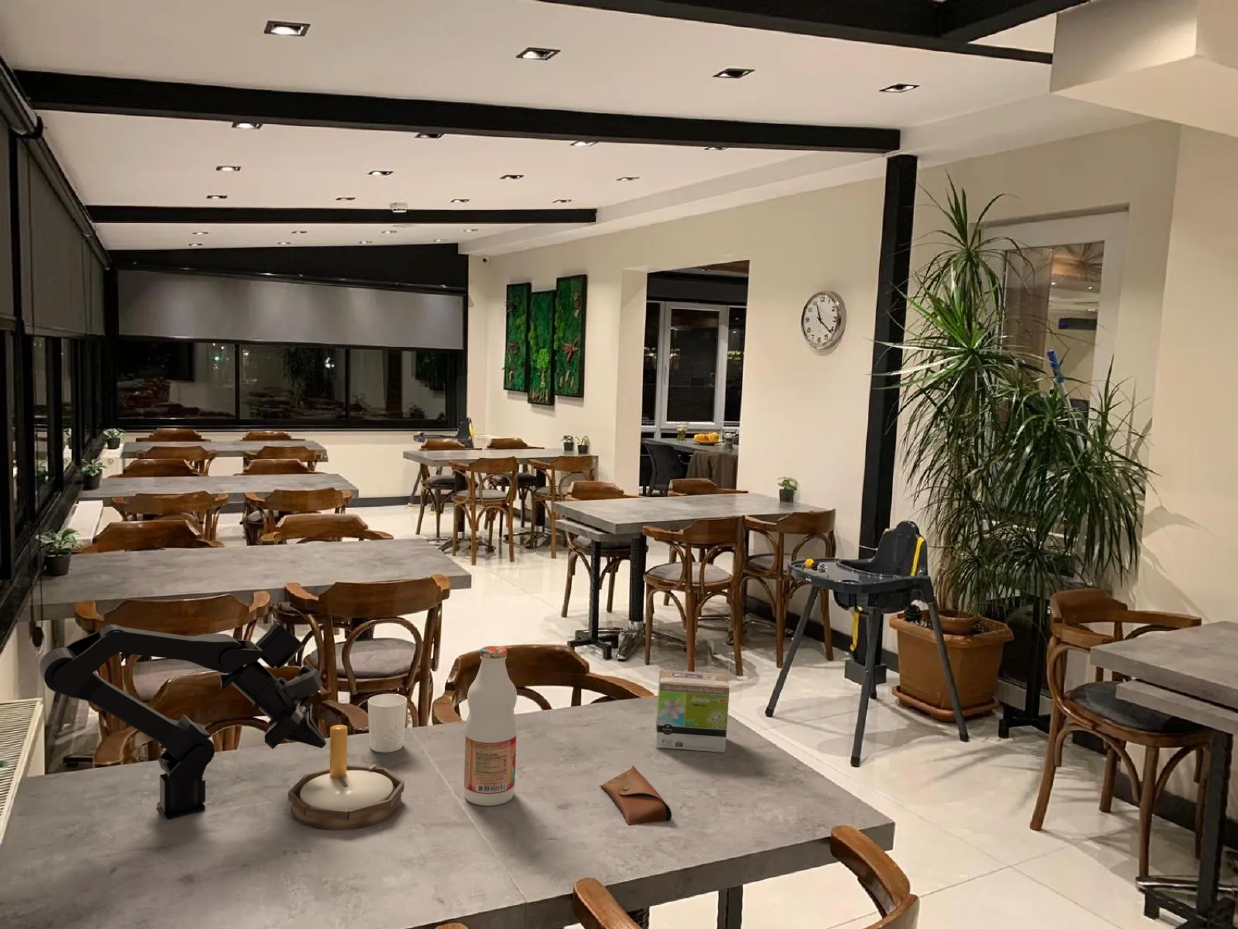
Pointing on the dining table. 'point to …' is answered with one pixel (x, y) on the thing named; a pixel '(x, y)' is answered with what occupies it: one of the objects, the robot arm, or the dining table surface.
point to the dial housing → (345, 818)
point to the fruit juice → (490, 732)
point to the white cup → (387, 722)
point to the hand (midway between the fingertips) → (324, 745)
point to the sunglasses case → (636, 798)
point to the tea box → (692, 711)
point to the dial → (344, 781)
